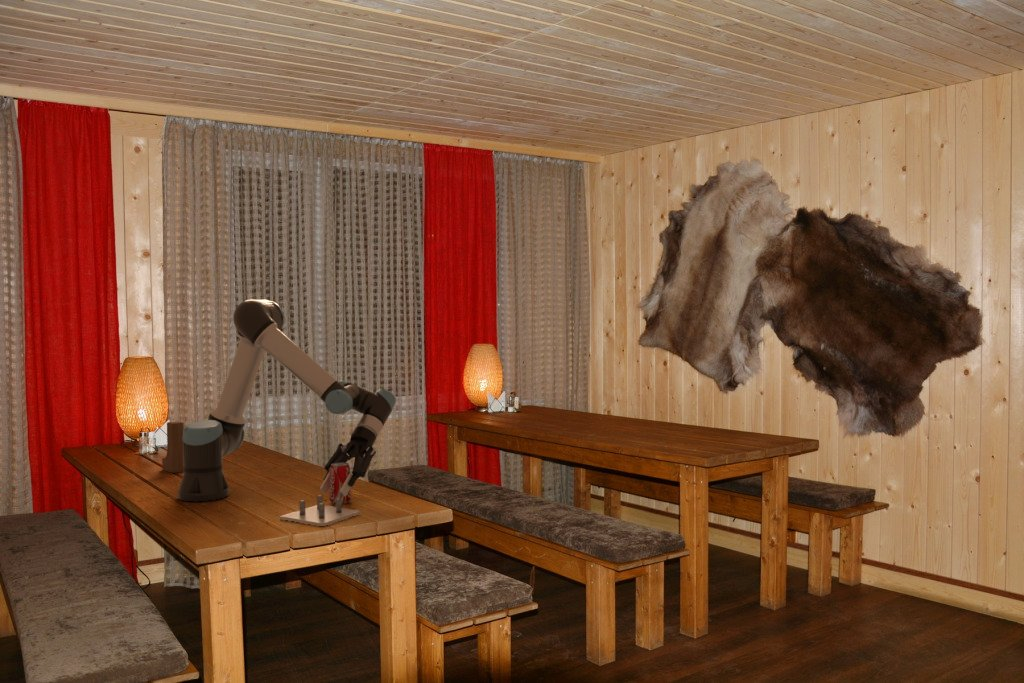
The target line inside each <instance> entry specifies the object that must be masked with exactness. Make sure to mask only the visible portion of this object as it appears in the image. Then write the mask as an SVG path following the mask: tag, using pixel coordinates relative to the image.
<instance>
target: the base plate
mask: <svg viewBox="0 0 1024 683" xmlns="http://www.w3.org/2000/svg"><path fill="white" fill-rule="evenodd" d="M360 513H361V514H362V510H357V509H350V508H344V507H342V513H336V506H332V505H325V518H323V519H320V518H319V510H317V504H315V505H313V506H310V507H305V515H300V509H299V510H296V511H292V512H290V513H286V514H283V515H282V514H281V515H280V516H279V520H280V519H282V520H281V521H285V520H288V521H287V522H291V521H294V522H293V523H296V522H300V523H299V524H302V523H305V524H304V525H308V524H310V525H309V526H314V525H316V526H315V527H319V526H325V527H327V526H326V525H328V526H330V525H329V524H331V523H334V524H336V523H335V522H337V523H339V522H338V521H340V522H342V521H341V520H343V521H345V520H344V519H346V520H348V519H347V518H349V517H352V516H354V515H357V514H360ZM352 518H353V517H352ZM349 519H350V518H349ZM331 525H332V524H331Z"/></svg>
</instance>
